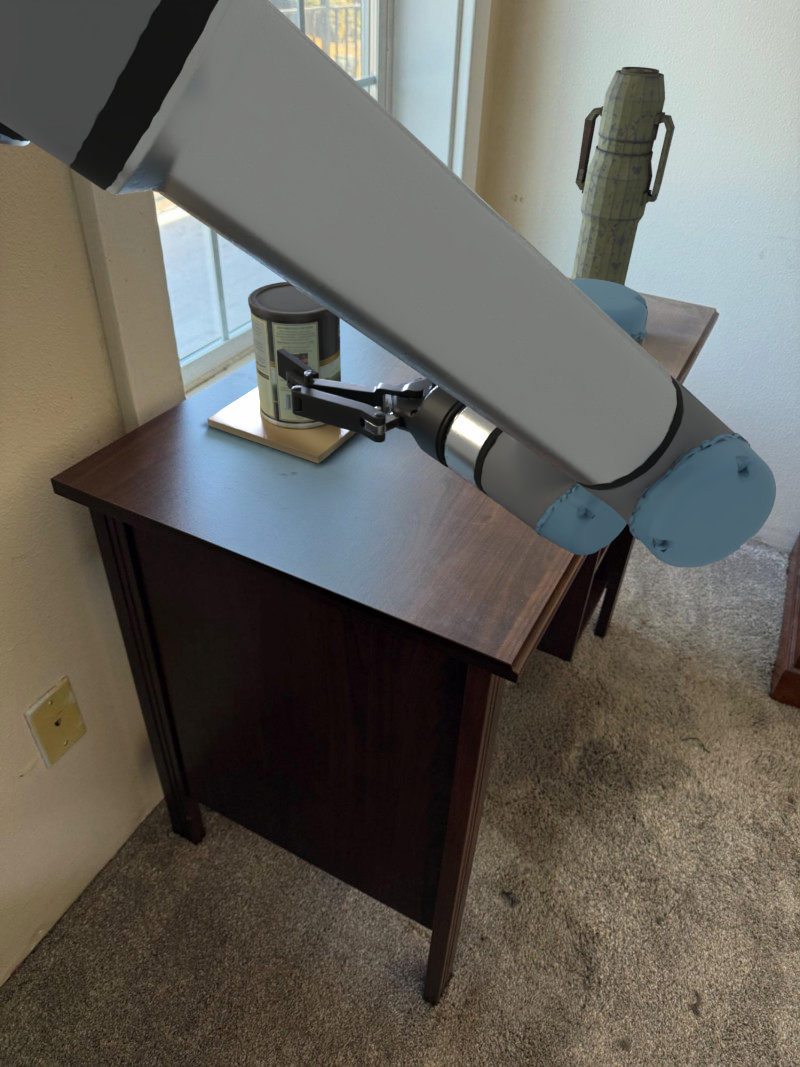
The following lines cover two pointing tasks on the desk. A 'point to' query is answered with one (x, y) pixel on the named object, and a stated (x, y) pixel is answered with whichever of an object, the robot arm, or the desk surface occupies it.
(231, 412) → the cork mat
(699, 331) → the desk surface
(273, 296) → the coffee can
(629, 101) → the thermos
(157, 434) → the desk surface
